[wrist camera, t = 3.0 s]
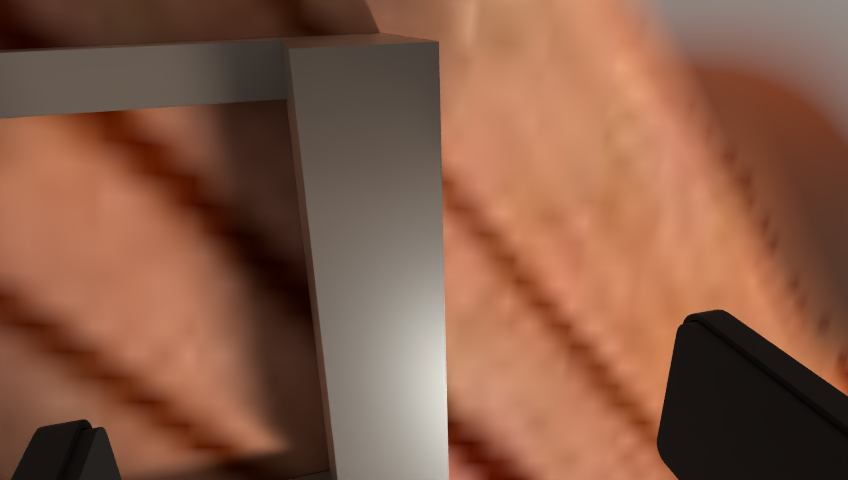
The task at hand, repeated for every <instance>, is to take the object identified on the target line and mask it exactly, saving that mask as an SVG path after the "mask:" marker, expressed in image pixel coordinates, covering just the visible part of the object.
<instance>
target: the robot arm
mask: <svg viewBox="0 0 848 480" xmlns="http://www.w3.org/2000/svg"><path fill="white" fill-rule="evenodd" d="M657 448H658V451H659V454H660V456H661V458H662V460H663V461H664V463H665V464H666V465H667V466H668V468H669V469H670V470H671V471H672V472H673V473H674V475H675V476H676V477H677V478H678V479H679V480H848V396H846V395H845V394H844V393H842V392H841V391H839V390H838V389H836V388H835V387H834V386H832V385H831V384H829V383H828V382H826V381H825V380H824V379H822V378H821V377H819V376H818V375H816V374H815V373H814V372H812V371H811V370H809V369H808V368H806V367H805V366H804V365H802V364H801V363H799V362H798V361H796V360H795V359H794V358H792V357H791V356H789V355H788V354H786V353H785V352H784V351H782V350H781V349H779V348H778V347H776V346H775V345H774V344H772V343H771V342H769V341H768V340H766V339H765V338H764V337H762V336H761V335H759V334H758V333H757V332H755V331H754V330H752V329H751V328H749V327H748V326H747V325H745V324H744V323H742V322H741V321H739V320H738V319H737V318H735V317H734V316H732V315H731V314H729V313H728V312H726V311H724V310H712V311H706V312H700V313H695V314H691V315H688V316H687V317H686V318H685V320H684V322H683V324H682V325H680V326H679V328H678V330H677V333H676V339H675V344H674V350H673V355H672V361H671V366H670V371H669V377H668V382H667V388H666V393H665V399H664V404H663V410H662V415H661V421H660V426H659V432H658V437H657ZM11 480H121V477H120V473H119V470H118V467H117V464H116V461H115V458H114V454H113V451H112V448H111V445H110V442H109V439H108V435H107V433H106V431H105V429H104V428H103V427H98V428H92V426H91V424H90V423H89V422H88V421H87V420H84V419H83V420H77V421H71V422H66V423H60V424H54V425H48V426H43V427H40V428H38V429H37V431H36V432H35V433H34V435H33V437H32V439H31V441H30V443H29V445H28V447H27V449H26V451H25V453H24V455H23V457H22V459H21V461H20V463H19V465H18V467H17V469H16V471H15V473H14V475H13V477H12V479H11Z"/></svg>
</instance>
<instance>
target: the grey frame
mask: <svg viewBox="0 0 848 480" xmlns="http://www.w3.org/2000/svg"><path fill="white" fill-rule="evenodd" d="M278 99H286V103H287V111H288V120H289V128H290V136H291V145H292V153H293V162H294V170H295V178H296V187H297V195H298V204H299V212H300V221H301V229H302V237H303V246H304V254H305V263H306V271H307V279H308V288H309V296H310V305H311V313H312V322H313V330H314V338H315V347H316V355H317V364H318V372H319V381H320V389H321V397H322V406H323V414H324V423H325V431H326V439H327V448H328V456H329V465H330V471H325V472H321V473H316V474H311V475H307V476H302V477H297V478H293V479H288V480H449V473H448V429H447V385H446V341H445V297H444V253H443V209H442V165H441V121H440V77H439V42H438V41H432V40H425V39H418V38H411V37H405V36H398V35H391V34H384V33H369V34H346V35H324V36H302V37H279V38H257V39H235V40H212V41H190V42H168V43H145V44H123V45H100V46H78V47H56V48H33V49H11V50H0V118H14V117H29V116H43V115H58V114H73V113H87V112H102V111H117V110H131V109H146V108H161V107H175V106H190V105H204V104H219V103H234V102H248V101H263V100H278Z"/></svg>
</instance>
